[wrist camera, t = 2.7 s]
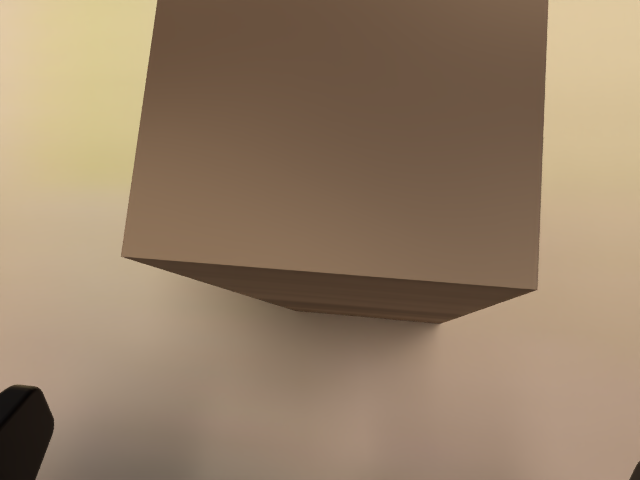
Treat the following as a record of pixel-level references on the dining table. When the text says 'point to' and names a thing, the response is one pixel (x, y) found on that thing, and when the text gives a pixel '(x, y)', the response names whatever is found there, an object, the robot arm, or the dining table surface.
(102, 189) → the dining table surface
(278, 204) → the brown rectangular pillar
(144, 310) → the dining table surface
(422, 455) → the dining table surface
